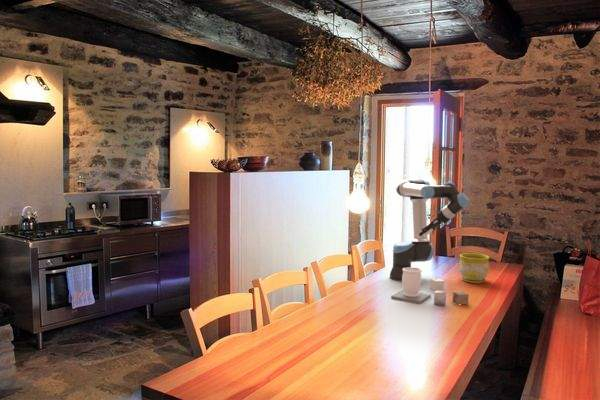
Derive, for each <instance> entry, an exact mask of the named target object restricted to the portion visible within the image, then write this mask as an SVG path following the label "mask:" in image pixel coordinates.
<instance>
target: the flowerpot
mask: <svg viewBox="0 0 600 400" xmlns="http://www.w3.org/2000/svg"><path fill="white" fill-rule="evenodd" d="M459 257H460V258H459V260H460V261H459V273H460V275H461V276H462V277H461V279H462V281H464V282H466V283H469V282H470V283H471V284H482V283H481V282H483V283H484V282H485V281H486V278H487V276H488V275H489V271H490V269H489V268H490V265H489V262H490V256H489V255H487V254H484V253H483V254H482V253H475V252H465V253H464V252H463V253H461V254H459ZM470 283H469V284H470Z"/></svg>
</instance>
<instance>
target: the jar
mask: <svg viewBox="0 0 600 400" xmlns="http://www.w3.org/2000/svg"><path fill="white" fill-rule="evenodd" d="M422 270H423V269H421V268H419V267H412V266H411V267H407V268H403V275H402V281H401V282H402V284H401V285H402V290H404V295H405V296H408V297H417V296H419V294H418V292H419V293H420V290H421V284H422Z"/></svg>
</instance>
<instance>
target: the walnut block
mask: <svg viewBox="0 0 600 400" xmlns="http://www.w3.org/2000/svg"><path fill="white" fill-rule="evenodd" d="M469 296H470V295H469V293H467V292H465V291H464V290H461V291H460V290H459V291H457V290H456V291H455V290H454V291H452V303H453V302H454V303H453V304H455V303H456V304H458V305H457V306H460V305H459V304H468V305H469ZM456 304H455V305H456Z"/></svg>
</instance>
